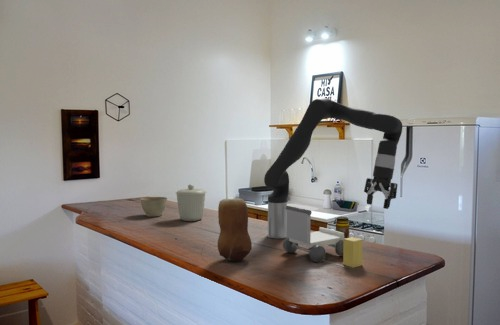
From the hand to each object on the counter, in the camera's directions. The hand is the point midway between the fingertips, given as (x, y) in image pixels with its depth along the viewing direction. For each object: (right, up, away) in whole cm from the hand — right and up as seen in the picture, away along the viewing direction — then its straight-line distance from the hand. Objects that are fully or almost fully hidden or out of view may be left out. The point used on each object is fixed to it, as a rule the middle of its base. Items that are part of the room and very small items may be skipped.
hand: (377, 206), depth 173 cm
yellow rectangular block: (-11, -22, -7) cm, 25 cm away
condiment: (-9, -20, +26) cm, 34 cm away
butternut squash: (-57, -22, 0) cm, 61 cm away
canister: (-86, -17, +85) cm, 121 cm away
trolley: (-23, -21, +8) cm, 32 cm away
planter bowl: (-111, -16, +98) cm, 149 cm away
